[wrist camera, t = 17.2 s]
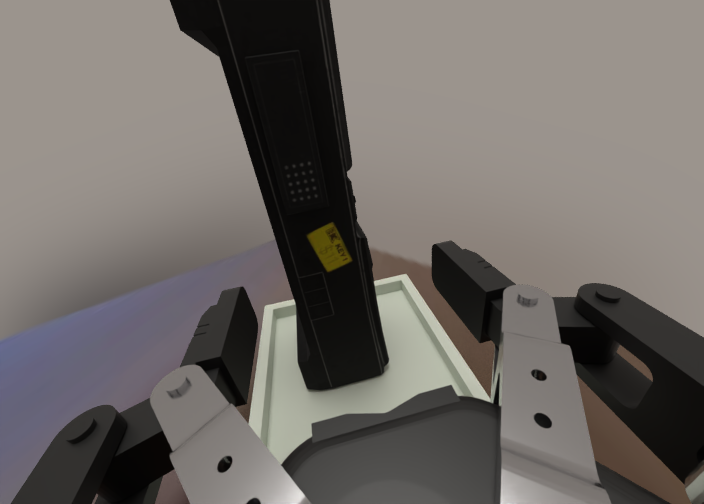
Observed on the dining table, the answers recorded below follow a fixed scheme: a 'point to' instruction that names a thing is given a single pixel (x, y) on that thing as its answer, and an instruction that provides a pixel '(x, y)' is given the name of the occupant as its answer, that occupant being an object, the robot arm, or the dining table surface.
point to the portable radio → (301, 172)
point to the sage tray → (359, 397)
